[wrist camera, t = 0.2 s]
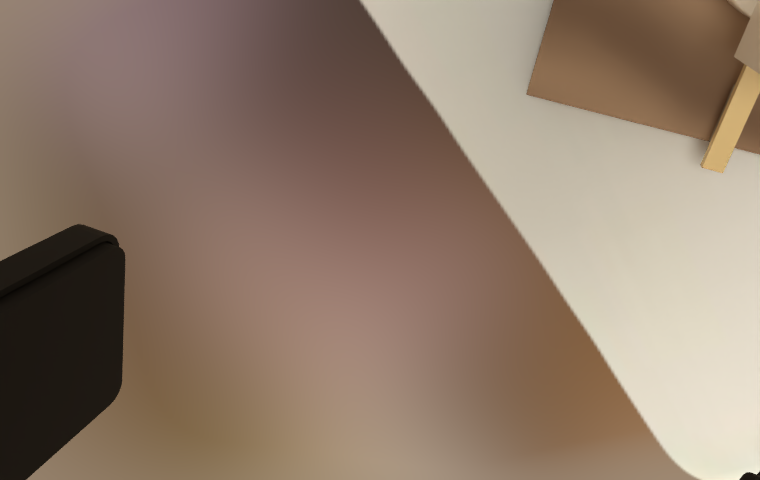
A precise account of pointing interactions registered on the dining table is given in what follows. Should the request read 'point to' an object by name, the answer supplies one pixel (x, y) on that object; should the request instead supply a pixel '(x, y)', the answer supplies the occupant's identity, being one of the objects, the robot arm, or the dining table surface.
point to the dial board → (646, 63)
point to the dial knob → (738, 91)
